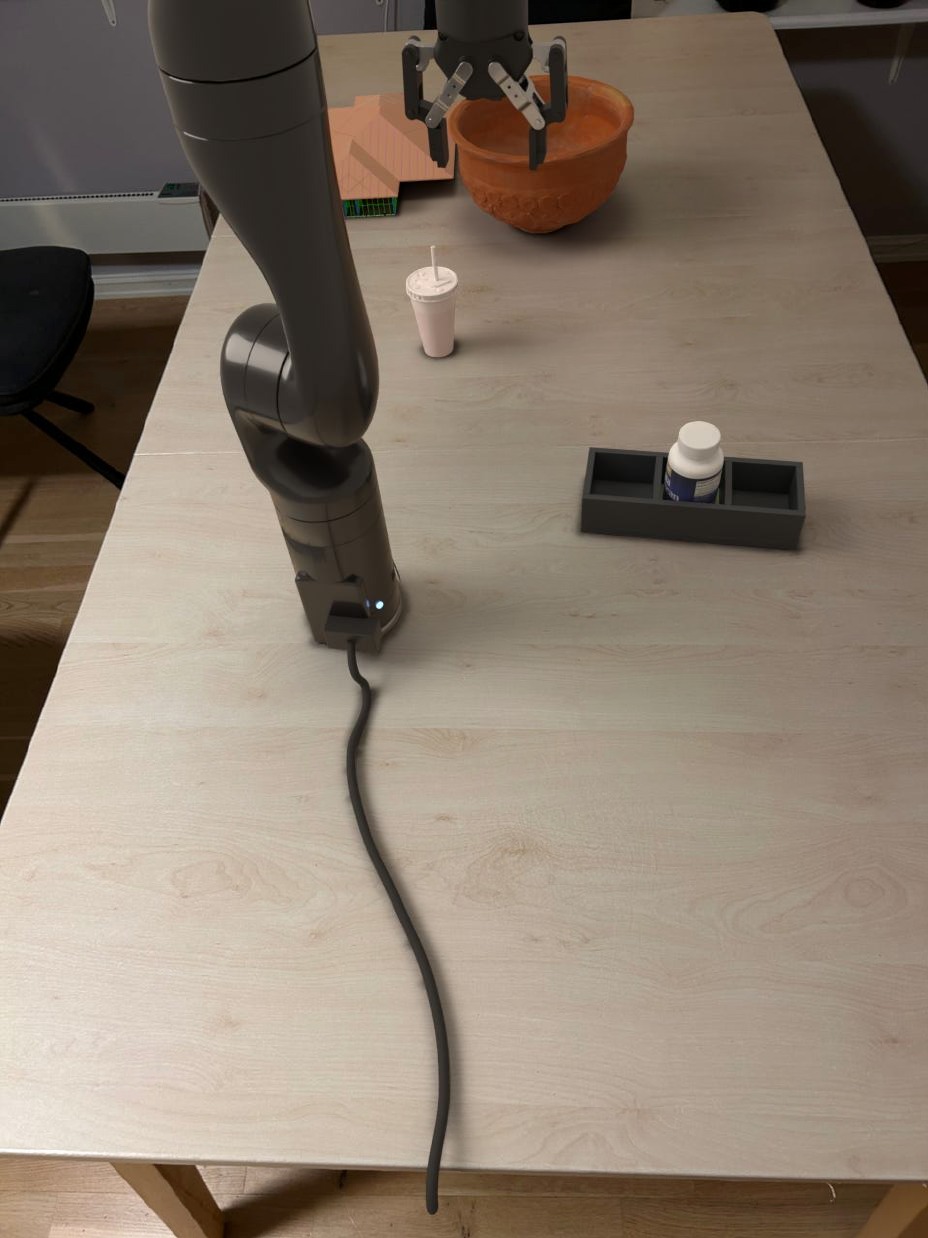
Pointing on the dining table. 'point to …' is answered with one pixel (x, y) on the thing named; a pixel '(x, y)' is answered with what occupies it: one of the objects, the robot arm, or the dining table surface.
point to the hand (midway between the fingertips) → (488, 165)
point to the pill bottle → (694, 464)
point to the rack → (742, 514)
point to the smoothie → (434, 306)
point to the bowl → (574, 163)
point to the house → (382, 149)
